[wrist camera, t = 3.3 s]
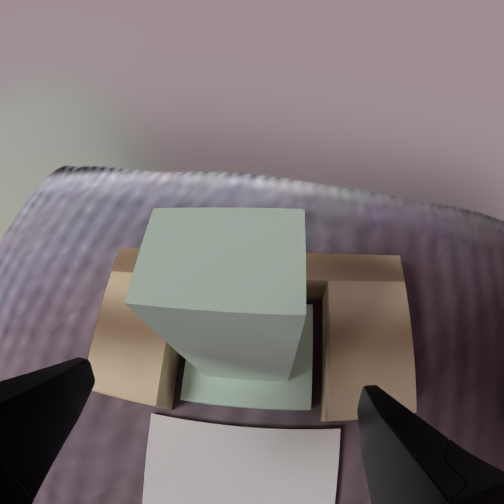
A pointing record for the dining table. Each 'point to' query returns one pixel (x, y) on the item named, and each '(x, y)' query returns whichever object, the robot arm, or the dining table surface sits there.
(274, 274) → the mint green pillar
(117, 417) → the dining table surface
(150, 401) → the stand
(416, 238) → the dining table surface
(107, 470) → the dining table surface
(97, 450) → the dining table surface
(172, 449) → the mat
